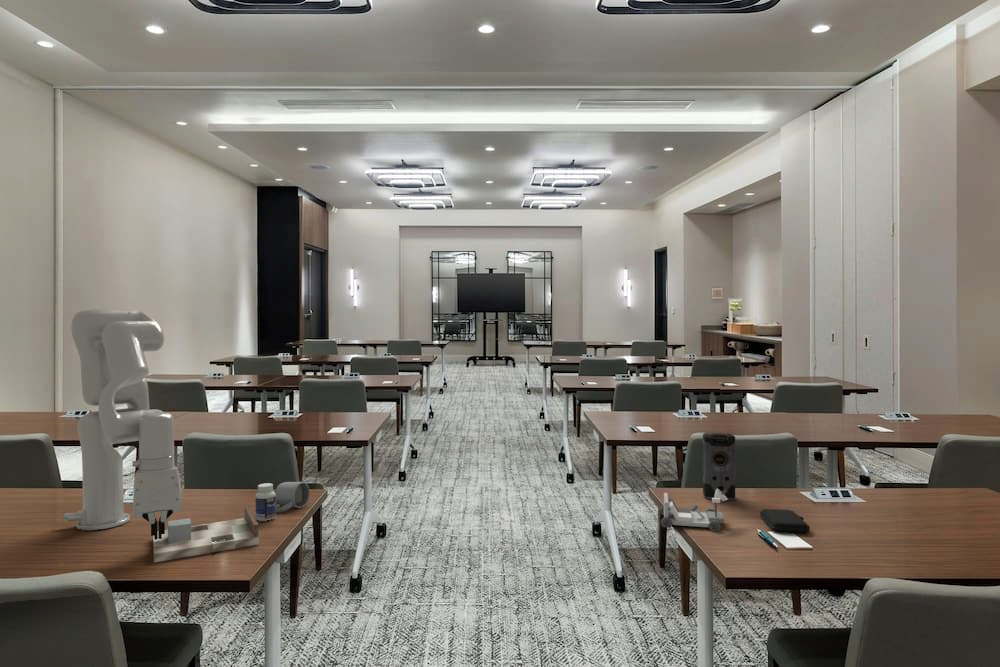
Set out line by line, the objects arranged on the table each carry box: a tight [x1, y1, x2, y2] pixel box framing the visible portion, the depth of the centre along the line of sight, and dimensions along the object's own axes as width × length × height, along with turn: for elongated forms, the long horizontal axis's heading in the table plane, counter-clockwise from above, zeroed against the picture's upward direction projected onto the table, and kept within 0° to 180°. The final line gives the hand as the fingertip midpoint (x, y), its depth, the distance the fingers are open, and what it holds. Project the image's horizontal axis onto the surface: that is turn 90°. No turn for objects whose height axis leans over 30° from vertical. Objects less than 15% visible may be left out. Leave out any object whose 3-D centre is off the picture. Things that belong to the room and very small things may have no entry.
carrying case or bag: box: [759, 508, 810, 535], centre depth 166 cm, size 11×3×15 cm
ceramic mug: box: [274, 481, 311, 513], centre depth 185 cm, size 11×8×8 cm
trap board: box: [152, 506, 260, 563], centre depth 155 cm, size 23×18×5 cm
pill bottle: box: [255, 482, 277, 522], centre depth 174 cm, size 5×5×10 cm
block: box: [167, 517, 192, 543], centre depth 152 cm, size 5×5×4 cm
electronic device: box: [702, 432, 736, 501], centre depth 193 cm, size 9×6×20 cm, turn 80°
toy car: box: [659, 489, 729, 532], centre depth 168 cm, size 18×10×12 cm
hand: (158, 537), depth 150 cm, fingers closed
